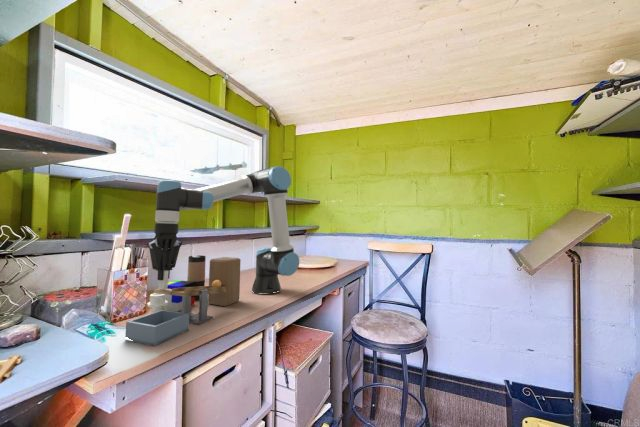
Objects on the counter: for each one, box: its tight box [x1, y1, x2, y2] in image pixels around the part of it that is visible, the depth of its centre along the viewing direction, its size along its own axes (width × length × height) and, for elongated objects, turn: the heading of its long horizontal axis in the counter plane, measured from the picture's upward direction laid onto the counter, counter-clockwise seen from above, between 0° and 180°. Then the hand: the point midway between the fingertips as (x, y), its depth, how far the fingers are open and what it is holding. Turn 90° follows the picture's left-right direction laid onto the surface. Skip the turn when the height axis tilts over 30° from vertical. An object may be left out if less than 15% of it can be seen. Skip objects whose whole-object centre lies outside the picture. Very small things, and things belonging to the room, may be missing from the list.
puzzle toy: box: [162, 279, 196, 312], centre depth 114 cm, size 10×10×10 cm
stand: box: [181, 289, 214, 326], centre depth 99 cm, size 7×11×11 cm, turn 72°
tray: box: [125, 310, 190, 347], centre depth 84 cm, size 13×12×6 cm
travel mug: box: [186, 255, 207, 301], centre depth 127 cm, size 8×8×20 cm
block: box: [208, 256, 242, 307], centre depth 121 cm, size 10×10×20 cm
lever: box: [153, 284, 227, 297], centre depth 103 cm, size 22×14×3 cm, turn 162°
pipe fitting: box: [146, 292, 168, 313], centre depth 103 cm, size 6×7×8 cm
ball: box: [212, 280, 221, 288], centre depth 110 cm, size 4×4×4 cm
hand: (162, 288), depth 95 cm, fingers closed
